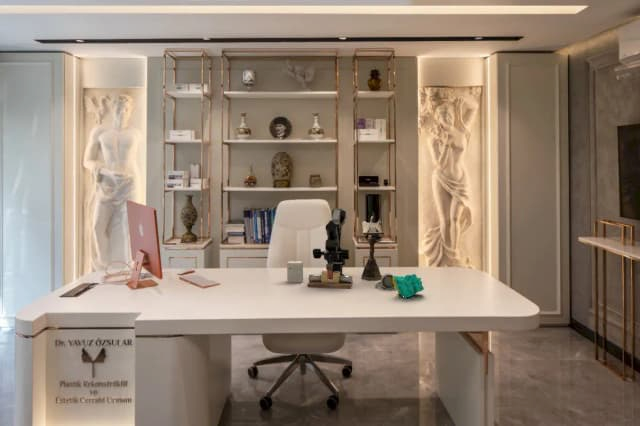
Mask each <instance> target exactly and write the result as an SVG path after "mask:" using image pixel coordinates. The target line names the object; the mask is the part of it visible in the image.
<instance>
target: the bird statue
mask: <svg viewBox="0 0 640 426" xmlns="http://www.w3.org/2000/svg"><path fill="white" fill-rule="evenodd" d="M361 224H362V225H361V226H362V235H361V237H363V236H364V235H367V236H368V237H367V243H369V258H367V261H366V265H364V267H363V271H362V274H361V279H362V280H365V281H381V278H382V276H383V274H381V272H380V267H379V265H378V264H377V259H376V258H375V257H374V256H375V244H377V239H378V238H377V237H376V236H380V235H383V236H385V233H384V230H383V223H382V221H381V219H380V218H379V219H378V221H377V222H375V221H374V215H372V216H371V217H370V222H367V221H366V220H364V221H363V220H362V222H361Z"/></svg>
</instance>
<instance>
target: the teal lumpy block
mask: <svg viewBox="0 0 640 426" xmlns="http://www.w3.org/2000/svg"><path fill="white" fill-rule="evenodd" d="M421 279H422V277H418V276H417V274H416V273H413V274H406V275H405V276H400V275H393V284H394V288H395V289H396V291H397V293H398V294H399V295H400V296H402V297H403V296H404V297H403V298H404V299H406V298H407V297H408V298H410V297H412V296H415V295H416V294H417V293H419V292H422V291H424V290H425V287H424V286H423V281H422V280H421Z"/></svg>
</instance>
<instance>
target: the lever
mask: <svg viewBox="0 0 640 426" xmlns="http://www.w3.org/2000/svg"><path fill="white" fill-rule="evenodd" d="M325 268H326V270H325V271H328V280H333V275H332V264H328V263H326V265H325Z"/></svg>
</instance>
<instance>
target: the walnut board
mask: <svg viewBox="0 0 640 426" xmlns="http://www.w3.org/2000/svg"><path fill="white" fill-rule="evenodd" d="M353 285H354V280H352V283H339V284H338V283H333V280H331V279H328V283H321V282H309V281H308V283H307V288H325V289H326V288H327V289H329V288H330V289H350V290H351V289H352V286H353Z"/></svg>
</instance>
